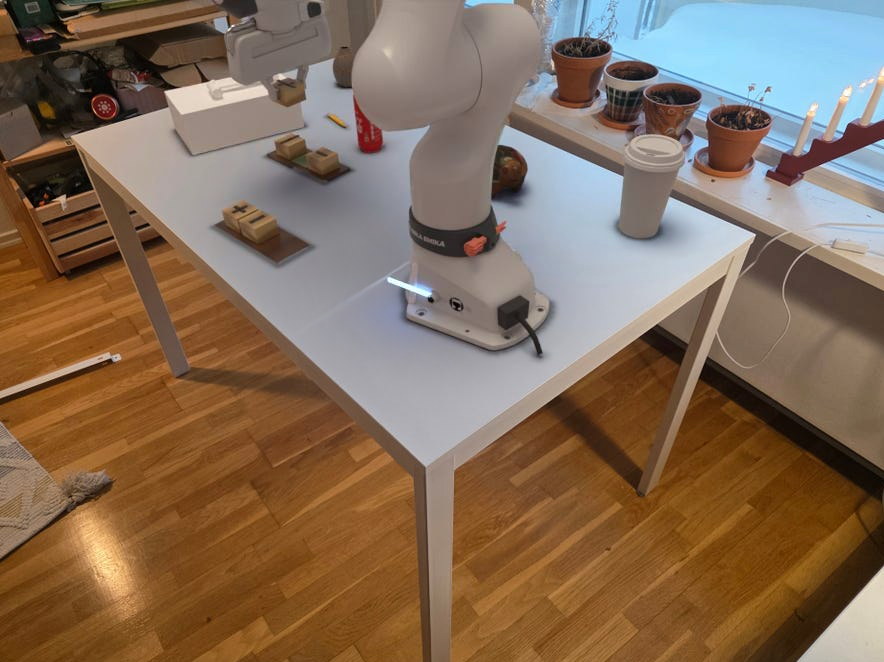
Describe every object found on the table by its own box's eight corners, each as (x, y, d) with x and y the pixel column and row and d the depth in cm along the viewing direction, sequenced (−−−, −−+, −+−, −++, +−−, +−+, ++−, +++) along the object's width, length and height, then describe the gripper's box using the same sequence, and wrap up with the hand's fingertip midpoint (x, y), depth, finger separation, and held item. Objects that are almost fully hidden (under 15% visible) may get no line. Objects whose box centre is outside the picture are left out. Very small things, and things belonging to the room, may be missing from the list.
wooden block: (307, 100, 119) (304, 82, 116) (288, 108, 116) (285, 90, 114) (290, 93, 121) (287, 76, 119) (270, 100, 119) (267, 83, 116)
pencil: (330, 115, 148) (329, 112, 148) (348, 128, 143) (348, 125, 143) (327, 116, 148) (326, 113, 148) (345, 129, 143) (344, 125, 142)
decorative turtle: (495, 212, 116) (494, 170, 111) (461, 180, 127) (458, 140, 122) (543, 198, 118) (544, 156, 113) (506, 168, 129) (505, 128, 124)
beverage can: (379, 154, 134) (374, 96, 126) (355, 152, 135) (349, 94, 127) (386, 143, 138) (381, 86, 129) (362, 141, 138) (356, 84, 130)
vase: (366, 85, 161) (363, 48, 155) (341, 91, 159) (337, 54, 153) (355, 77, 166) (351, 40, 160) (330, 82, 163) (325, 46, 157)
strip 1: (310, 247, 110) (307, 228, 107) (277, 265, 106) (273, 246, 103) (247, 211, 119) (242, 193, 116) (214, 227, 115) (209, 209, 112)
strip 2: (350, 170, 129) (348, 153, 127) (324, 183, 126) (321, 166, 123) (293, 144, 138) (290, 128, 136) (267, 156, 135) (263, 139, 132)
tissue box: (175, 130, 145) (160, 80, 137) (281, 105, 154) (272, 57, 146) (193, 155, 136) (177, 103, 128) (304, 127, 145) (296, 77, 137)
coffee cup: (597, 227, 112) (612, 144, 102) (632, 207, 116) (649, 126, 106) (643, 250, 107) (663, 165, 96) (678, 229, 111) (700, 145, 101)
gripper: (234, 31, 101) (252, 118, 111) (331, 0, 112) (341, 82, 122) (210, 23, 104) (230, 108, 114) (308, -6, 115) (318, 73, 125)
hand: (288, 94), depth 118 cm, fingers closed on wooden block, 4 cm apart
